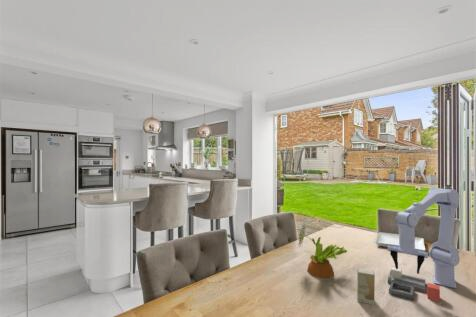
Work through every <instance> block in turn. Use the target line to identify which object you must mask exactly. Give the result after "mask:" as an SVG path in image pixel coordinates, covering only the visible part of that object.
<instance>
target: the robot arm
mask: <svg viewBox="0 0 476 317" xmlns="http://www.w3.org/2000/svg"><path fill="white" fill-rule="evenodd" d="M435 204H436V205H437V206H439V207H440V208H441V211H440V220H439V228H438V237H437V238H438V239H437V241H435V242H433V243H432V244H431V246H430V249H429V253H428V251H427V252H426V251H424V252H423V251H419V250H415V237H416V232H415V231H416V230H415V228H416V226H417V225H418V224H419V220H420V219H421V218H422V217H423V216H424V215H425V214H426V213H427V212H428V209H429V208H430V207H432V206H433V205H435ZM459 204H460V194H459V192H458V191H457V190H456V189H454V188H453V189H449V188H439V187H431V188H430V189H429V190H428V191H427V195H426V196H424V198H423V199H422V200H420V202H413V203H412V204H411V205H410V206H409V207H407V208H406V209H405V210H401V211H399V212H397V213H396V216H395V217H394V218H395V222H396V224H397V228H398V234H399V247H396V246H388V247H387V251H388V252H389V254H390V256H391V258H392V261H393V263H394V267H396V269H398V268H399V262H398V254H400V253H401V254H405V255H410V256H416V262H417V263H416V264H417V267H416V274H417V275H418V274H420V270H421V268H422V265H423V263H424V261H425V259H428V258H429V257H430V259H431V260H432V262H434V263H433V265H434V266H433V267H434V274H433V284H434V285H439V286H440V285H441V286H444V287H448V288H452V289H457V284H456V279H455V277H456V276H455V274H456V273H455V267H456V266H458V265H459V263H460V260H461V257H460V254H459V253H460V252H459V251H460V250H459V249H458V248H457V247H456V246H454V244H453V242H454V232H455V223H456V222H455V221H456V213H457V208H459ZM428 254H429V256H428Z"/></svg>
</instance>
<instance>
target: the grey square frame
mask: <svg viewBox="0 0 476 317" xmlns="http://www.w3.org/2000/svg"><path fill="white" fill-rule="evenodd" d="M394 288H396V289H394ZM398 289H399V290H398ZM401 290H403V291H401ZM405 291H406V292H405ZM409 292H410V293H409ZM388 294H389V295H392V296H396V297H400V298H404V299H408V300H410V301H413V300H414V296H415V290H414V287H412V286H408V285H404V284H400V283H396V282H392V281H391V284H389V286H388Z"/></svg>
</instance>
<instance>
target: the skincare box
mask: <svg viewBox="0 0 476 317" xmlns="http://www.w3.org/2000/svg"><path fill="white" fill-rule="evenodd" d="M356 270H357V272H356V273H357V276H356V278H357V279H356V280H357V281H356V282H357V283H356V299H357V302H358V303H359V302H360V303H365V304H368V305H369V304H370V305H375V285H376V284H375V281H376V280H375V271H374V270H373V269H372V270H371V269H367V268H359V267H358V268H357V269H356Z"/></svg>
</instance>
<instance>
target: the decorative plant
mask: <svg viewBox="0 0 476 317" xmlns="http://www.w3.org/2000/svg"><path fill="white" fill-rule="evenodd" d="M301 227H302V228H301V230H300V231H299V233H298V244H297V245H299V246H298V247H302V244H303V242H304V241H303V240H304V237H307V238H308V239H310V240H311V242H312V243H313V244H314V245H315V254H311V256H310V257H309V258H310V260H311V261H310V262H309V263H308V266H307V269H306V272H307V273H308V275H311V276H313V277H316V278H321V279H324V278H325V279H326V278H327V279H328V278H332V277H333V276H334V275H335V273H334V272H335V271H334V268H333V266H332V265H331V263H330V260H329V258H330V259H335V260H336V259H338V257H337V256H339V255H342V254H346V253H347V252H348V250H346V249H345V248H344V247H345V246H342V247H339V246H337V245H336V244H329V245H328V246H327V247H325V248H324V249H323V244H322V243H321V239H322V238H321V236H319V237H318V238H317V240H316V241H315V239H314V238H310V237H309V236H307V235H305V231H306V223H303V225H302V226H301Z"/></svg>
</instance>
